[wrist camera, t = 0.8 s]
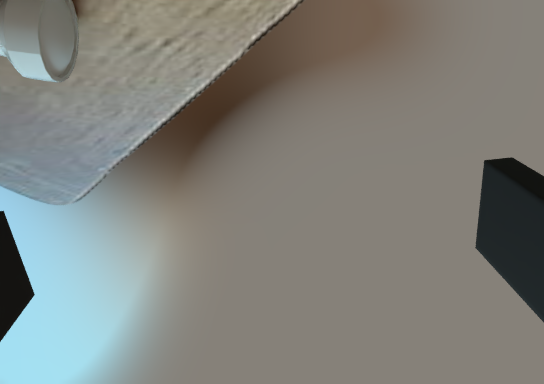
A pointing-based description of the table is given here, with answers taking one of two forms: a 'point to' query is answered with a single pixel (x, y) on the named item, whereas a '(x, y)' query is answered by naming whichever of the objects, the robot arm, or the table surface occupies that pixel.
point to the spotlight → (39, 37)
